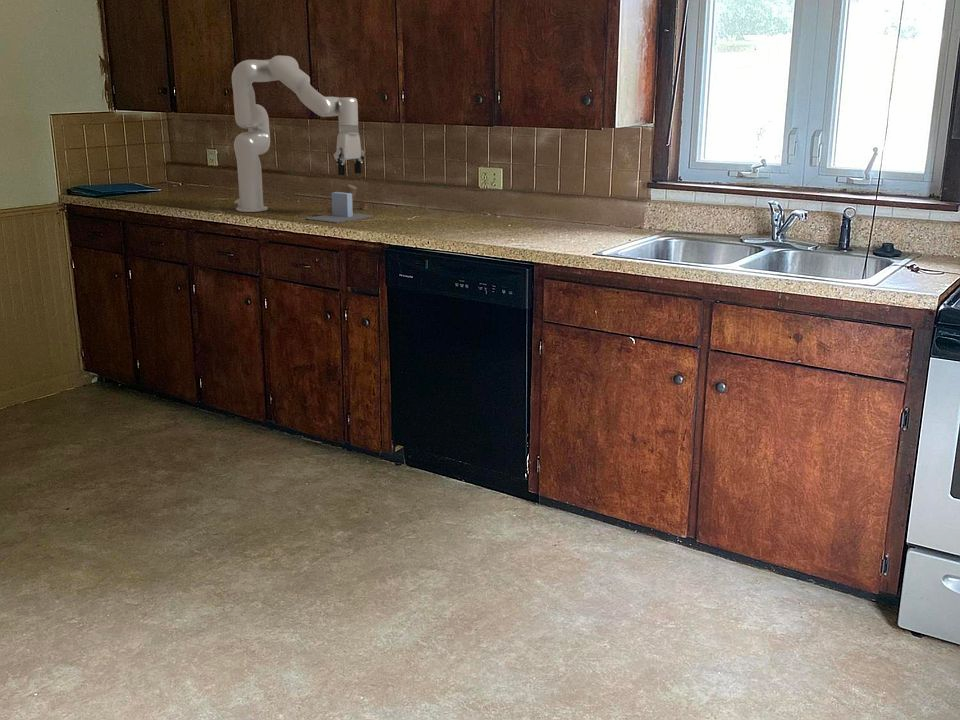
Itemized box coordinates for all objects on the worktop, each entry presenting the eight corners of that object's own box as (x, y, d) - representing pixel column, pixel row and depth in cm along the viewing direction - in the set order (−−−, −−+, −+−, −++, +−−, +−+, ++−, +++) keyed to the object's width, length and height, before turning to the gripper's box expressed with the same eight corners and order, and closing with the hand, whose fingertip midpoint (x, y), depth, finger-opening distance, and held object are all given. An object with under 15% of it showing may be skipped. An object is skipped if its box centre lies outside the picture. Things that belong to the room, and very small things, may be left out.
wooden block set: (342, 219, 388) (349, 197, 383) (326, 210, 390) (332, 187, 385) (366, 212, 403) (373, 191, 398) (350, 203, 405) (357, 181, 401)
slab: (332, 215, 379) (331, 192, 377) (337, 214, 382) (336, 191, 379) (347, 217, 375) (347, 194, 372) (352, 216, 377) (352, 193, 375)
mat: (305, 219, 371) (305, 218, 370) (342, 213, 388) (342, 212, 388) (336, 223, 362) (336, 221, 362) (372, 216, 380) (372, 215, 380)
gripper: (355, 128, 382) (357, 172, 387) (326, 130, 368) (328, 175, 373) (370, 129, 378) (371, 173, 383) (341, 131, 364) (342, 176, 369)
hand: (350, 174), depth 378 cm, fingers open, 9 cm apart
